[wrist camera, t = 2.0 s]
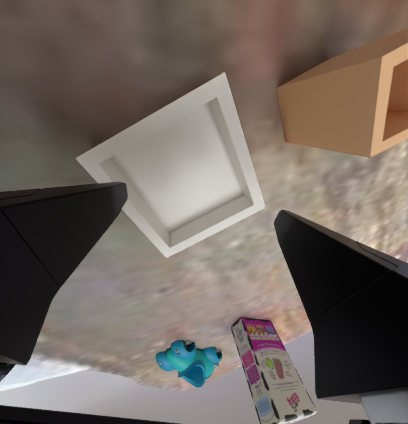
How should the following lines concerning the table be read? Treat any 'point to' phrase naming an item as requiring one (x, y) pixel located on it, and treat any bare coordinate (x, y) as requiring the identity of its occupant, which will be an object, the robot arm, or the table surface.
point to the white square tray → (182, 168)
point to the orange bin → (351, 100)
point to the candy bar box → (270, 374)
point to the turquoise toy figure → (190, 361)
